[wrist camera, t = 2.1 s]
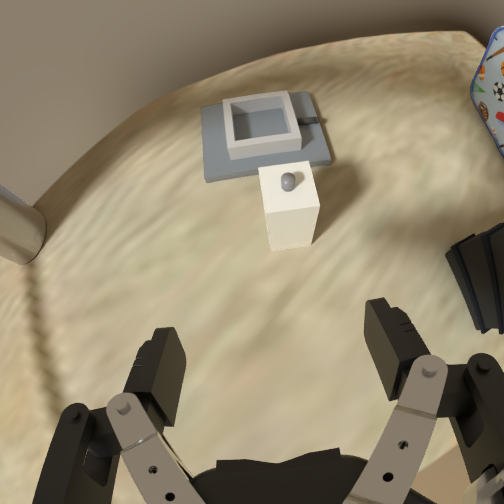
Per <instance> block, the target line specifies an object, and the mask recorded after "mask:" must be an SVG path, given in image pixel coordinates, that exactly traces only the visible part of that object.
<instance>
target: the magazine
mask: <svg viewBox="0 0 504 504" xmlns="http://www.w3.org/2000/svg"><path fill="white" fill-rule="evenodd" d="M451 249H452V250H450V251H449V252H447V253H446V254H445V256H446V258H447V260H448V262H449V265H450V267H451V269H452V271H453V273H454V275H455V278H456V280H457V282H458V285H459V287H460V289H461V292H462V294H463V296H464V299H465V301H466V304H467V306H468V309H469V311H470V314H471V317H472V319H473V322H474V325H475V328H476V329H477V330H481V333H482V334H485V333H486V332H487V331H489V330H490V329H491V328H495V329H499V334H503V333H504V223H499V224H498V225H496V226H495V227H493V228H491V229H490V230H488V231H485V232H482V233H480V234H478V235H476V236H475V234H472V235H470V236H469V237H467V238H465V239H463V240H462V241H460V242H458V243H456V244H455V245H453V246H451Z"/></svg>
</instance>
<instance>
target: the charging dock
mask: <svg viewBox="0 0 504 504" xmlns="http://www.w3.org/2000/svg"><path fill="white" fill-rule="evenodd" d="M222 101H223V103H220V104H215V105H209V106H205V107H201V114H202V140H203V161H204V178H205V180H206V183H209V182H215V181H220V180H226V179H232V178H238V177H244V176H250V175H257V174H259V171H258V168H259V167H266V166H273V165H280V164H288V163H295V162H303V161H309V164H310V167H315V166H324V165H330V164H331V157H330V153H329V150H328V147H327V144H326V141H325V138H324V135H323V132H322V129H321V126H320V123H319V118H318V117H317V114H316V112H315V109H314V106H313V103H312V101H311V98H310V95H309V93H308V92H298V93H288V90H286V91H277V92H269V93H261V94H254V95H247V96H241V97H235V98H229V99H224V100H222Z"/></svg>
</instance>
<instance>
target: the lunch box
mask: <svg viewBox="0 0 504 504" xmlns="http://www.w3.org/2000/svg"><path fill="white" fill-rule="evenodd" d="M470 93H471V97H472V100H473V102H474V104H475V106H476V108H477V110H478V111H479V113H480V115H481V116H482V118H483V120H484V122H485V124H486V125H487V127H488V129H489V131H490V132H491V134H492V136H493V138H494V140H495V142H496V144H497V147H498V149H499V151H500V152H501V153H502V155H503V156H504V26H501V27H499V28H497V29H496V30H495V31H494V32H493V34H492V36H491V38H490V41H489V44H488V47H487V49H486V51H485V53H484V56H483V58H482V60H481V63H480V65H479V67H478V69H477V72H476V74H475V76H474V78H473V80H472V83H471V86H470Z"/></svg>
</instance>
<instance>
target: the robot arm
mask: <svg viewBox="0 0 504 504" xmlns="http://www.w3.org/2000/svg"><path fill="white" fill-rule="evenodd" d="M45 233H46V221H45V218H44V216H43V214H42V213H40V212H39V211H38V210H36V209H35V208H33V207H32V206H30V205H29V204H27V203H26V202H25V201H23V200H22V199H21V198H19V197H18V196H16V195H15V194H13V193H12V192H11V191H9V190H8V189H7V188H5V187H4V186H2V185H1V184H0V256H2V257H4V258H6V259H9V260H11V261H13V262H15V263H17V264H21V265H23V264H27V263H28V262H30V261H31V260H32V259H33V258H34V257H35V256H36V255H37V253H38V252H39V250H40V248H41V246H42V244H43V241H44V238H45ZM364 336H365V341H366V344H367V346H368V349H369V351H370V354H371V356H372V358H373V361H374V363H375V366H376V368H377V371H378V374H379V376H380V379H381V381H382V384H383V386H384V389H385V392H386V394H387V397H388V400H389V401H392V400H396V399H398V403H397V405H396V406H395V408H394V410H393V412H392V414H391V417H390V419H389V421H388V423H387V425H386V427H385V430H384V432H383V434H382V436H381V438H380V440H379V442H378V444H377V446H376V448H375V450H374V452H373V453H372V455H371V457H370V459H369V461H368V460H366V459H363V458H360V457H356V456H351V455H341V454H340V449H339V448H334V449H329V450H323V451H317V452H311V453H307V454H304V455H302V456H299V457H296V458H293V459H290V460H288V461H285V462H282V463H268V462H261V461H254V460H248V459H240V460H217V464H216V468H212V469H210V470H207V471H204V472H202V473H200V474H198V475H197V476H195V477H194V476H193V475H192V474H191V473H190V471H189V470H188V469H187V468H186V466H185V465H184V464H183V462H182V461H181V459H180V458H179V456H178V455H177V454H176V452H175V451H174V449H173V448H172V446H171V445H170V443H169V442H168V440H167V439H166V437H165V435H164V434H163V431H164V426H168V427H174V423H175V418H176V413H177V408H178V403H179V398H180V393H181V388H182V383H183V378H184V373H185V369H186V355H185V352H184V349H183V347H182V345H181V342H180V340H179V337H178V335H177V332H176V330H175V328H174V327H166V328H156V329H155V331H154V334H153V336H152V339H151V340H148V341H146V342H145V343H144V344H143V345H142V346H141V347H140V348H139V350H138V353H137V356H136V360H135V361H134V363H133V367H132V369H131V371H130V374H129V377H128V379H127V382H126V385H125V388H124V390H123V393H121V394H118V395H116V396H114V397H113V398H112V399H111V400H110V401H109V403H108V404H107V407H103V408H99V409H94V410H89V409H88V408H87V406H86V405H84V404H82V403H74V404H71V405H69V406H68V407H67V408H65V410H64V411H63V412H62V414H61V417H60V420H59V422H58V425H57V428H56V430H55V433H54V436H53V438H52V441H51V444H50V447H49V450H48V453H47V456H46V459H45V462H44V465H43V468H42V471H41V474H40V478H39V481H38V484H37V488H36V491H35V495H34V499H33V502H32V504H111V501H112V495H113V489H114V484H115V478H116V473H117V468H118V463H119V458H120V454H121V456H122V458H123V460H124V463H125V465H126V467H127V469H128V471H129V472H130V474H131V476H132V478H133V480H134V482H135V484H136V486H137V488H138V489H139V491H140V493H141V495H142V496H143V498H144V500H145V502H146V503H147V504H437V503H435V502H433V501H431V500H430V499H428V498H426V497H425V496H423V495H421V494H420V493H418V492H416V491H415V490H413V489H412V488H410V487H411V485H412V483H413V481H414V479H415V477H416V474H417V472H418V470H419V467H420V465H421V462H422V460H423V457H424V455H425V452H426V449H427V447H428V444H429V441H430V438H431V436H432V433H433V430H434V427H435V424H436V420H437V418H443V417H449V420H450V422H451V425H452V428H453V430H454V433H455V436H456V439H457V442H458V444H459V447H460V450H461V453H462V456H463V459H464V462H465V466H466V469H467V472H468V475H469V479H470V482H471V485H470V486H469V487H468V488H467V490H466V491H465V493H464V497H463V503H464V504H504V372H503V371H502V369H501V367H500V365H499V364H498V362H497V361H496V359H495V358H494V357H492V356H491V355H488V354H485V353H478V354H475V355H473V356H472V357H471V358H470V359H469V361H468V363H467V364H458V365H448V364H446V363H445V362H444V360H442V359H441V358H440V357H437V356H434V355H431V354H430V352H429V350H428V348H427V347H426V345H425V343H424V342H423V340H422V338H421V337H420V335H419V333H418V332H417V330H416V328H415V327H414V325H413V323H411V320H410V319H409V317H408V315H407V314H406V313H405V312H404V311H402V310H401V309H399V308H398V307H394V308H391V307H390V306H389V304H388V302H387V301H386V299H385V298H384V297H382V298H377V299H372V300H367V301H366V305H365V320H364ZM87 450H88V451H87ZM86 452H87V454H86ZM85 456H86V458H85ZM84 460H85V462H84ZM83 464H84V466H83Z"/></svg>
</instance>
